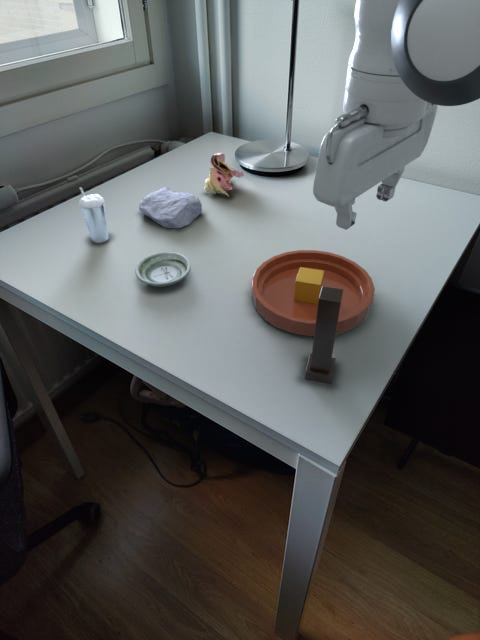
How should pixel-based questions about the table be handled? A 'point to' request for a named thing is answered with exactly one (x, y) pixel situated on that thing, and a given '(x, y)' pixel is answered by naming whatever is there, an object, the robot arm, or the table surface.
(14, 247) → the table surface
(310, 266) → the bowl
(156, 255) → the saucer
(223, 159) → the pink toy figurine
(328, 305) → the dark brown tall block
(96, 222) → the milkshake
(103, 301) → the table surface
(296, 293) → the block
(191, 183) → the table surface
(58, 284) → the table surface
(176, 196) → the stone block
